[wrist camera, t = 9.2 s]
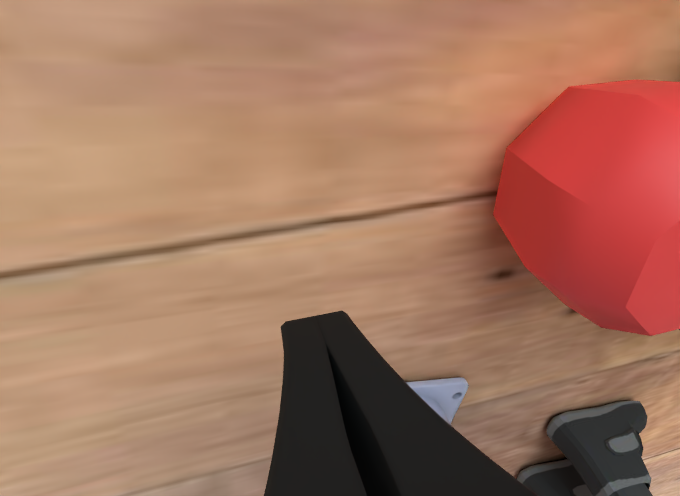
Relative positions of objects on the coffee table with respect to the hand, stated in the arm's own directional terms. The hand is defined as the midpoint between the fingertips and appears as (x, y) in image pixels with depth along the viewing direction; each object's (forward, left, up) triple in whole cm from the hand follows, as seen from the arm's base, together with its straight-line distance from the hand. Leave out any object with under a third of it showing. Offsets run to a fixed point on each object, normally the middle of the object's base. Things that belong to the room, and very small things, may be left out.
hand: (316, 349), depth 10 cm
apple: (+3, -11, -7) cm, 13 cm away
